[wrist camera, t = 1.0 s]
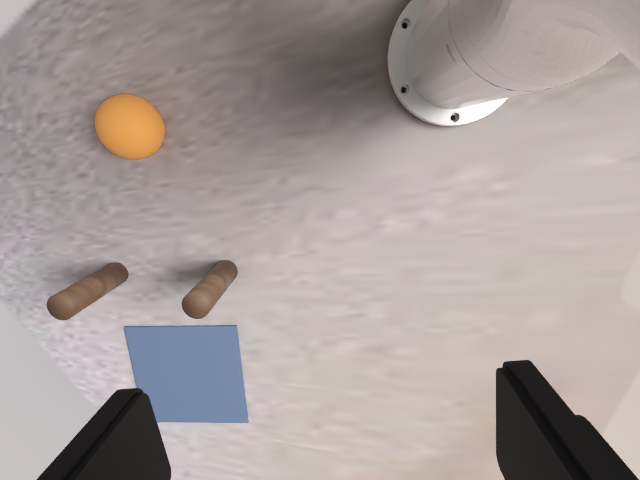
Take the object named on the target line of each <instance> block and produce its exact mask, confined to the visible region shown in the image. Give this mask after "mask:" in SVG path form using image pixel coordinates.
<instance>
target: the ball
mask: <svg viewBox="0 0 640 480" xmlns="http://www.w3.org/2000/svg"><path fill="white" fill-rule="evenodd" d="M95 129H96V133H97V135H98V138H99V139H100V141H101V142H102V144H103V145H104V146H105V147H106V148H107V149H108V150H109V151H111V152H112V153H114V154H116V155H117V156H120V157H123V158H126V159H142V158H146V157H148V156H150V155H152V154H154V153H155V152H156V151H157V150H158V149H159V148H160V146H161V145H162V143H163V140H164V136H165V127H164V122H163V119H162V117H161V115H160V113H159V112H158V110H157V109H156V108H155V107H154V106H153V105H152V104H151V103H149V102H148V101H146V100H145V99H143V98H141V97H138V96H135V95H130V94H120V95H115V96H112V97H110V98H108V99H107V100H105V101H104V102H103V103H102V104H101V105H100V107H99V108H98V110H97V112H96V115H95Z"/></svg>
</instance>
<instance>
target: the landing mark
mask: <svg viewBox="0 0 640 480" xmlns="http://www.w3.org/2000/svg"><path fill="white" fill-rule="evenodd" d="M124 329H125V334H126V338H127V343H128V348H129V352H130V357H131V362H132V366H133V371H134V376H135V380H136V385H137V388H140V389H142V390H143V392H144V393H146V394H147V395H148V396H149V398H150V401H151V405H152V408H153V411H154V415H155V418H156V421H157V422H210V423H248V415H247V407H246V398H245V390H244V382H243V373H242V365H241V357H240V348H239V340H238V332H237V325H234V326H125V327H124Z"/></svg>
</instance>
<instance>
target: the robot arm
mask: <svg viewBox="0 0 640 480" xmlns="http://www.w3.org/2000/svg"><path fill="white" fill-rule="evenodd" d="M402 24H406V25H407V28H406V29H403V28H402ZM619 53H621V54H622V55H624V56H625V57H626V58H627V59H628V60H629V61H630V62H632V63H633V64H634V65H635V66H636V67H637V68H638V69H639V70H640V0H411V1H410V2H409V3H408V5H407V6H406V8H405V9H404V10H403V12H402V13H401V15H400V16H399V18H398V20H397V22H396V24H395V27H394V29H393V32H392V35H391V38H390V42H389V48H388V53H387V68H388V73H389V79H390V82H391V85H392V88H393V90H394V93H395V94H396V96H397V98H398V99H399V101H400V102H401V104H402V105H403V106H404V107H405V108H406V109H407V110H408V111H409V112H410V113H411V114H413V115H414V116H416V117H417V118H419V119H420V120H423V121H425V122H427V123H430V124H434V125H439V126H460V125H466V124H469V123H473V122H476V121H478V120H480V119H482V118H484V117H486V116H488V115H490V114H491V113H492V112H494V111H495V110H497V109H498V108H499V107H500V106H501V105H502V104H503V103H504V102H505V101H506V100H507V99H508V98H510V97H514V96H518V95H523V94H527V93H532V92H536V91H540V90H545V89H549V88H552V87H556V86H560V85H563V84H567V83H570V82H572V81H575V80H577V79H580V78H582V77H584V76H586V75H588V74H590V73H592V72H594V71H595V70H597V69H599V68H600V67H602V66H603V65H605V64H606V63H608V62H609V61H610V60H611V59H613V58H614V57H615V56H616V55H618V54H619ZM401 88H405V89H406V92H405V93H402V92H401ZM452 115H454V117H455V119H454V120H453V121H452V120H451V119H450V117H451V116H452ZM496 454H497V460H498V464H499V467H500V470H501V472H502V474H503V476H504V478H505V480H638V478H637V477H636V476H635V475H634V474H633V472H632V471H631V470H630V469H629V468H628V467H627V466H626V464H625V463H624V462H623V461H622V459H621V458H620V457H619V456H618V455H617V454H616V453H615V451H614V450H613V449H612V448H611V447H610V446H609V444H608V443H607V442H606V441H605V440H604V438H603V437H602V436H601V435H600V434H599V432H598V431H597V430H596V429H595V428H594V427H593V425H592V424H591V423H590V422H589V421H588V420H587V419H586V418H585V417H583V416H581V415H574V413H573V412H572V411H571V410H570V408H569V407H568V406H567V405H566V404H565V402H564V401H563V400H562V399H561V397H560V396H559V395H558V394H557V393H556V391H555V390H554V389H553V388H552V387H551V385H550V384H549V383H548V382H547V380H546V379H545V378H544V377H543V376H542V374H541V373H540V372H539V371H538V369H537V368H536V367H535V366H534V365H533V363H532V362H531V361H529V360H521V361H507V362H504V364H503V368H498V369H497V370H496ZM170 478H171V467H170V464H169V461H168V457H167V454H166V451H165V448H164V444H163V441H162V438H161V434H160V431H159V428H158V425H157V421H156V418H155V415H154V411H153V408H152V405H151V401H150V398H149V396H148V395H147V394H146V393H144V392H143V390H142V389H140V388H133V389H120V390H117V391H116V392H115V393H114V394H113V395H112V396H111V397H110V398H109V399H108V400H107V401H106V403H105V404H104V405H103V406H102V407H101V408H100V409H99V410H98V412H97V413H96V414H95V415H94V416H93V417H92V418H91V420H90V421H89V422H88V423H87V424H86V425H85V426H84V427H83V428H82V429H81V431H80V432H79V433H78V434H77V435H76V436H75V437H74V438H73V440H72V441H71V442H70V443H69V444H68V445H67V446H66V447H65V449H64V450H63V451H62V452H61V453H60V454H59V455H58V456H57V457H56V459H55V460H54V461H53V462H52V463H51V464H50V465H49V466H48V468H47V469H46V470H45V471H44V472H43V473H42V474H41V475H40V476H39V478H38V479H37V480H170Z"/></svg>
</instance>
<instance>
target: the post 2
mask: <svg viewBox="0 0 640 480" xmlns="http://www.w3.org/2000/svg"><path fill="white" fill-rule="evenodd" d="M236 276H237V267H236V266H235V264H234V263H232V262H231V261H228V260H222V261H220V262H219V263H218V264H217V265H216V266H215V267H214V268H213V269H212V270H211V271H210V272H209V273H208V274H207V275H206V276H205V277H204V278H203V279H202V280H201V281H200V282H199V283H198V284H197V285H196V286H195V287H194V288H193V289H192V290H191V291H190V292H189V293H188V294H187V295H186V296H185V297H184V298H183V300H182V308H183V310H184V312H185V313H186V314H187V315H188V316H189V317H191V318H195V319H200V318H203V317H205V316H206V315H207V314H208V313H209V312H210V310H211V309H212V308H213V306H214V305H215V304H216V302H217V301H218V300H219V299H220V297H221V296H222V295H223V293H224V292H225V291H226V289H227V288H228V287H229V285H230V284H231V283H232V282H233V280H234V279H235V278H236Z"/></svg>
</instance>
